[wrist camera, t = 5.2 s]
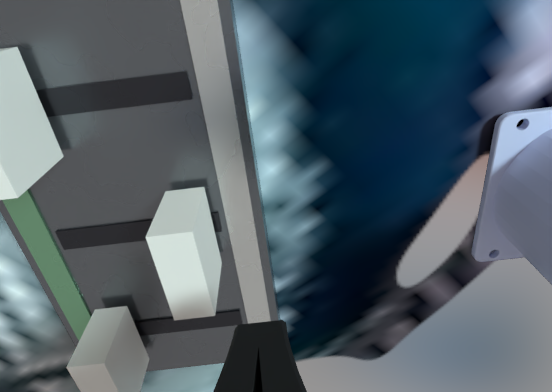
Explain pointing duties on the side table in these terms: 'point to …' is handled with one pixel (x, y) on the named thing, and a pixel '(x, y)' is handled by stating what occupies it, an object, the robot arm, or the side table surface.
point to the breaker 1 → (22, 129)
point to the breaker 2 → (109, 354)
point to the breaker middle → (186, 253)
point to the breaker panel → (140, 163)
